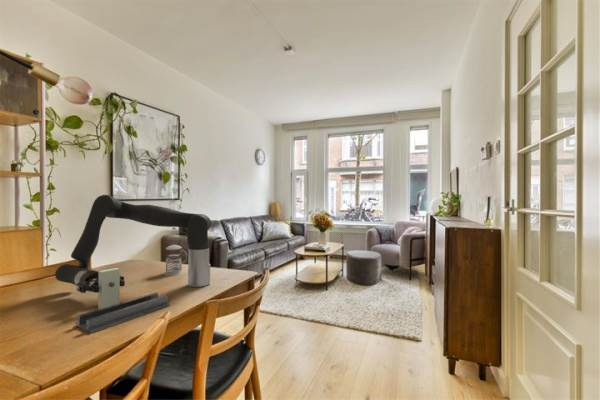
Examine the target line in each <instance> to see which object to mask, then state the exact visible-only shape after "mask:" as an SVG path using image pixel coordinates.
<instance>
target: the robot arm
mask: <svg viewBox="0 0 600 400" xmlns="http://www.w3.org/2000/svg"><path fill="white" fill-rule="evenodd" d="M89 212H90V213H89V215H88V218H87V220H86V223H85V226H84V228H83V231H82V233H81V236H80V238H79V239H78V242H77V243H76V245H75V247H74V249H73V250H72V251H71V255H70V258H72V259H73V260H76V261H78V263H79V264H78V265H74V264H71V263H70V264H69V263H68V264H67V263H66V264H61V265H60V266H58V267H57V268H56V270H55V273H54V277H55V279H56V281H58V282H63V283H67V284H72V285H74V286H76V291H77V292H80V293H81V294H85V293H87V292H89V293H96V294H98V292H99V286H98V280H99V271H100V270H99V271H97V270H95V269H92V268H91V269H89V265H90V261H91V258H92V256H93V253H95V250H96V248H97V246H98V243H99V240H100V233H101V228H102V226H103V223H104V221H105V220H106V218H110V219H123V220H124V219H125V220H130V221H135V222H137V223H141V224H145V225H149V226H155V227H166V228H173V227H175V228H183V229H186V238H187V244H188V254H187V259H188V261H187V263H188V268H187V271H188V273H187V274H188V275H187V286H188V287H190V288H201V287H206V286H208V285H211V263H210V242H209V240H208V239H209V237H208V235H209V234H208V232H209V230H210V228H211V226H212V220H211V219H210V217H209V216H207V215H206V214H203V213H191V212H190V213H189V212H184V211H183V212H182V211H179V210H176V209H172V208H167V207H165V206H164V207H163V206H160V205H154V204H132V203H128V202H125V201H121V200H119V199H117V198H115V197H113V196H111V195H110V194H109V195H108V194H102V195H99V196H97V197H96V198H95V199H94V201H93V203H92V206H91V209H90V211H89ZM125 284H126V281H125V277H124V275H123V276H122V275H120V287H121V288H122V287H125Z"/></svg>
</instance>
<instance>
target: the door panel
mask: <svg viewBox="0 0 600 400" xmlns="http://www.w3.org/2000/svg"><path fill="white" fill-rule="evenodd" d="M120 274H121V268H118V267H115V268H108V269H103V270H99V280H98V286H99V292H98V293H97V294H98V296H97V299H98V300H97V303H98V304H97V310H98V309H101V308H105V307H108V306H111V305H115V304H118V303H120V294H121V293H120V287H121V286H120V276H121V275H120Z"/></svg>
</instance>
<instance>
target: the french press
mask: <svg viewBox="0 0 600 400" xmlns="http://www.w3.org/2000/svg"><path fill="white" fill-rule="evenodd" d="M171 228H172V230H177V227H171ZM182 248H183V247H182V246H180V245H178V244H171V245H169V246H167V247H165V250H168V251H179V250H180V253H183V252H184V253H185V255H186V257H185V260H184V261H182V257H181V254H180V253H172V254H171V253H170V254H167V255H166V258H165V272H163V275H164V276H178V275H181V274H183V273H184V271H183V270H182V269H183V267H182V265H183V264H185V262H186V261H187V259H188V253H187V251H185V250H184V249H182Z"/></svg>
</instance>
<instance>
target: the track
mask: <svg viewBox="0 0 600 400" xmlns="http://www.w3.org/2000/svg"><path fill="white" fill-rule="evenodd" d="M168 300H169V295H161V296H159V292H152V293H149V294H146V295H143V296H142V295H141V296H139V297H136V298H133V299H132V298H131V299H129V300H126V301H122V302H119V303H118V304H115V305H111V306H108V307H105V308H101V309H98V308H97V309H95V310H92V311H87V312H85V313H82V314H78V315H77V318H76V319H77V321H76V322H75V327H76V328H78V329H81V330H83V331H85V332H87V333H89V334H94V333H96V332H100V331H103V330H105V329H108V328H111V327H113V326H116V325H119V324H123V323H125V322H128V321H130V320H134V319H136V318H139V317H142V316H145V315H148V314H150V313H153V312H156V311H159V310H162V309H165V308H167V307H170V305H171V304H170V302H169V301H168Z"/></svg>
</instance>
